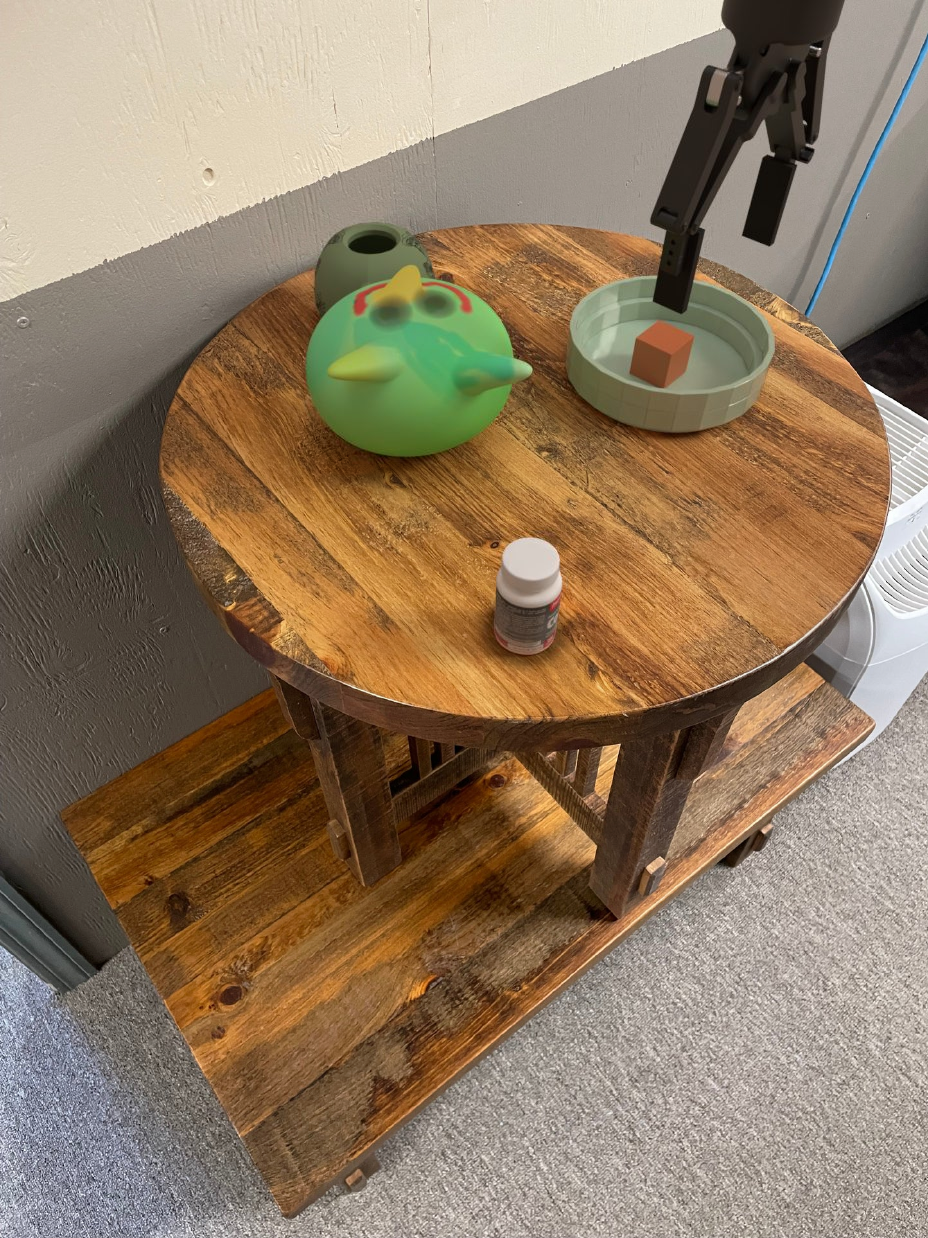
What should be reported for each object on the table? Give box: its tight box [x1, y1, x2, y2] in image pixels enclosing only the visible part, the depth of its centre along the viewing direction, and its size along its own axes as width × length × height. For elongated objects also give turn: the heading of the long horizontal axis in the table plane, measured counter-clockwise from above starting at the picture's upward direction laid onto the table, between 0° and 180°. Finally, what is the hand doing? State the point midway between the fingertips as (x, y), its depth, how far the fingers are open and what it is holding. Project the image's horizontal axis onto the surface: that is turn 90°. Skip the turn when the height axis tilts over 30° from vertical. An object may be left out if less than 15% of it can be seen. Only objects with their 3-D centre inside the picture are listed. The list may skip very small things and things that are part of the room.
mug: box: [313, 221, 436, 320], centre depth 87 cm, size 16×13×9 cm
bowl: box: [564, 275, 776, 434], centre depth 84 cm, size 19×19×5 cm
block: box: [629, 320, 694, 389], centre depth 83 cm, size 4×4×4 cm
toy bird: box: [305, 265, 533, 458], centre depth 74 cm, size 18×17×15 cm
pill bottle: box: [493, 537, 563, 656], centre depth 63 cm, size 5×5×8 cm
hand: (715, 271), depth 71 cm, fingers open, 13 cm apart
